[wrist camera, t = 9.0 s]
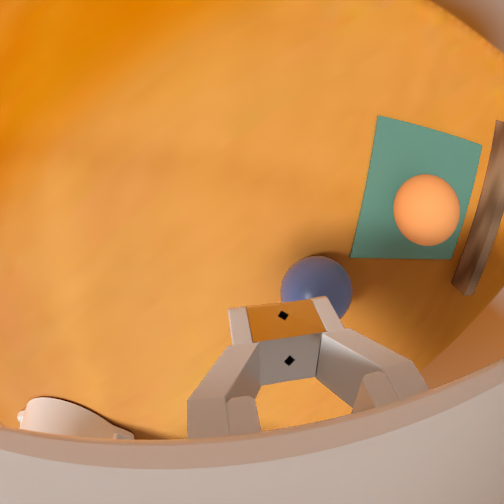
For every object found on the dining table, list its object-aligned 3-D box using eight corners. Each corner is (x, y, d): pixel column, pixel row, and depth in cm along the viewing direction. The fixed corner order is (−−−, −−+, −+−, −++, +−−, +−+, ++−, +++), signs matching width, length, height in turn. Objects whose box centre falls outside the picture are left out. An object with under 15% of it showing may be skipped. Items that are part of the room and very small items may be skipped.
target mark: (449, 258, 29) (450, 259, 29) (349, 256, 27) (350, 257, 27) (480, 144, 23) (482, 145, 23) (377, 115, 21) (378, 115, 21)
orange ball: (372, 230, 24) (401, 222, 27) (431, 266, 20) (452, 251, 24) (393, 162, 21) (419, 164, 25) (460, 193, 18) (475, 191, 21)
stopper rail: (460, 282, 31) (472, 294, 28) (451, 282, 30) (464, 295, 28) (504, 124, 22) (522, 129, 20) (496, 120, 22) (514, 125, 20)
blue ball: (275, 324, 27) (266, 306, 22) (294, 265, 29) (289, 236, 24) (339, 341, 25) (346, 327, 20) (355, 279, 27) (363, 252, 22)
